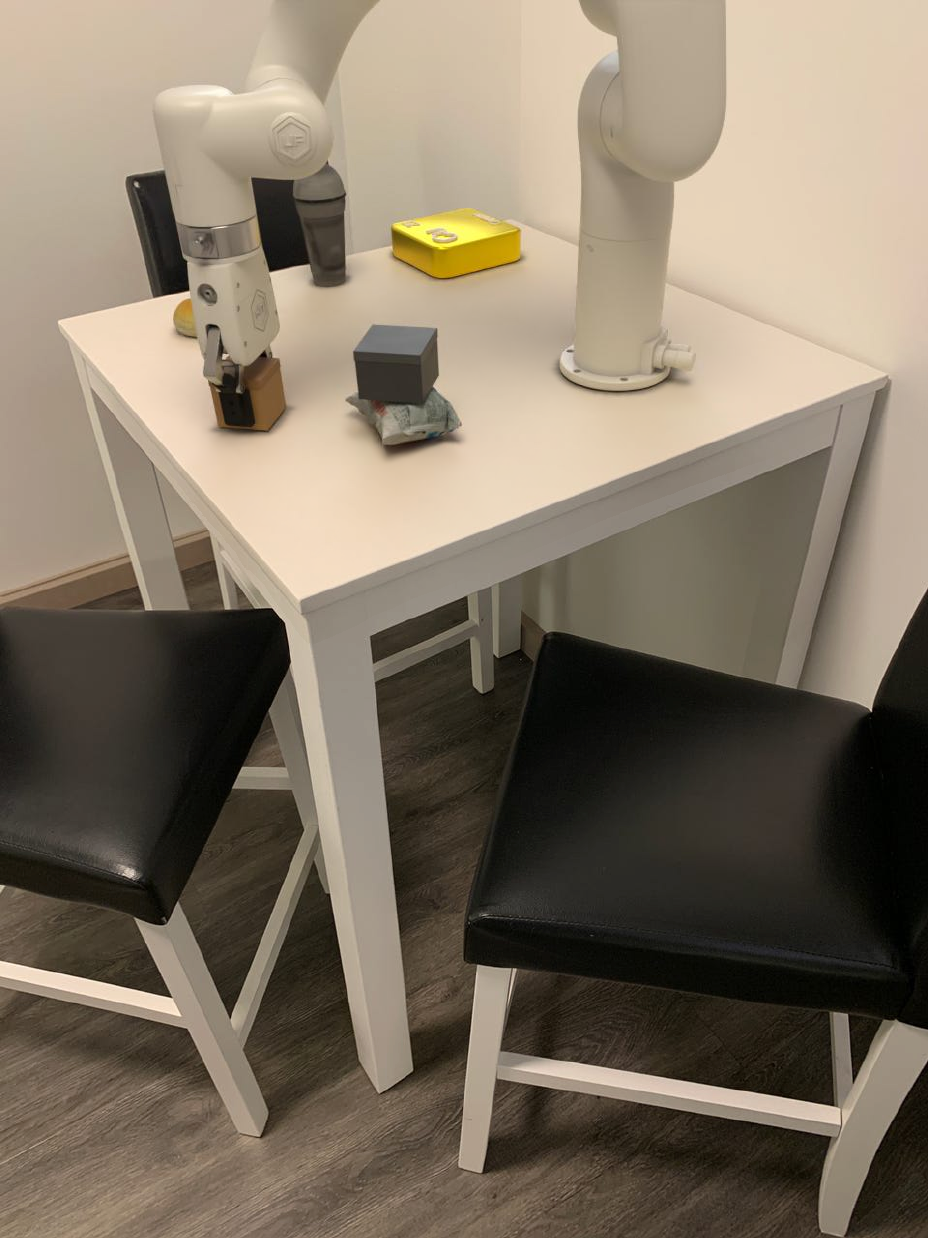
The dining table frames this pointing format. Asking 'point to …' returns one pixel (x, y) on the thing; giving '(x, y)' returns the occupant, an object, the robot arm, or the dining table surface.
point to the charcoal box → (396, 363)
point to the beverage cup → (323, 224)
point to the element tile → (456, 242)
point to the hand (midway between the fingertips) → (251, 409)
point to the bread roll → (184, 318)
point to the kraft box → (258, 392)
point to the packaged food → (409, 417)
